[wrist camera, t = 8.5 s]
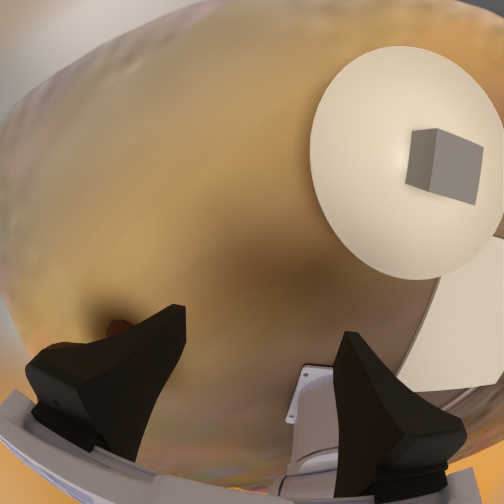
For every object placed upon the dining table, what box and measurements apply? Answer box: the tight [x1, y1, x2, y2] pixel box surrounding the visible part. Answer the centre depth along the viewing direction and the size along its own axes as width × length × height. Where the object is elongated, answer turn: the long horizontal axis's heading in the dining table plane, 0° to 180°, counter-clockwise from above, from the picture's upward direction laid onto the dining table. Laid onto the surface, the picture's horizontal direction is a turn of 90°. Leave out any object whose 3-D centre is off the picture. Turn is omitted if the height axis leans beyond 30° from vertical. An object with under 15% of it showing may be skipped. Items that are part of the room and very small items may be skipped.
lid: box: [309, 46, 504, 280], centre depth 11 cm, size 14×14×4 cm
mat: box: [395, 236, 504, 392], centre depth 20 cm, size 18×18×1 cm
